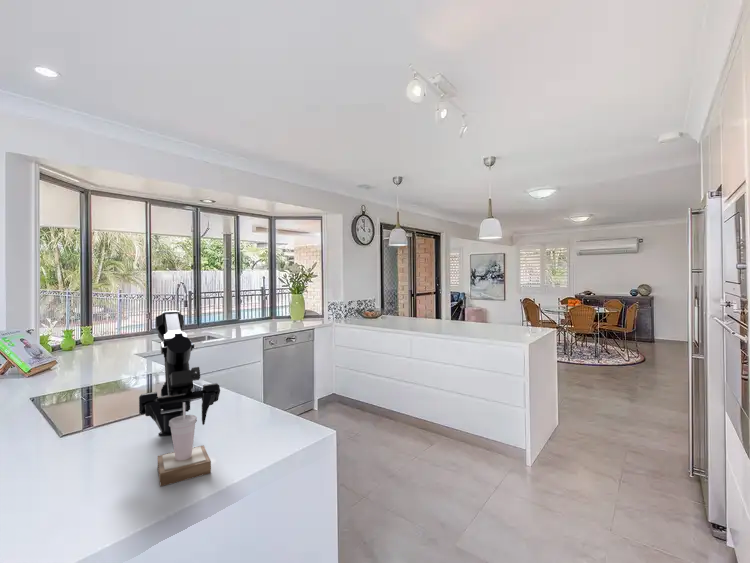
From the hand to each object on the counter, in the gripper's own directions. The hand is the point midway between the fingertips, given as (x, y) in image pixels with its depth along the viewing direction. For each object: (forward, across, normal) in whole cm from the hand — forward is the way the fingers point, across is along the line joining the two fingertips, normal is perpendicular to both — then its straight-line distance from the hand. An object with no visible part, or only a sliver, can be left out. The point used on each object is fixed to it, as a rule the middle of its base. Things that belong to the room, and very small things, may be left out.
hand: (183, 428), depth 95 cm
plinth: (+7, 0, +9) cm, 11 cm away
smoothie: (+5, 0, +7) cm, 8 cm away
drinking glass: (-32, +2, +48) cm, 57 cm away
